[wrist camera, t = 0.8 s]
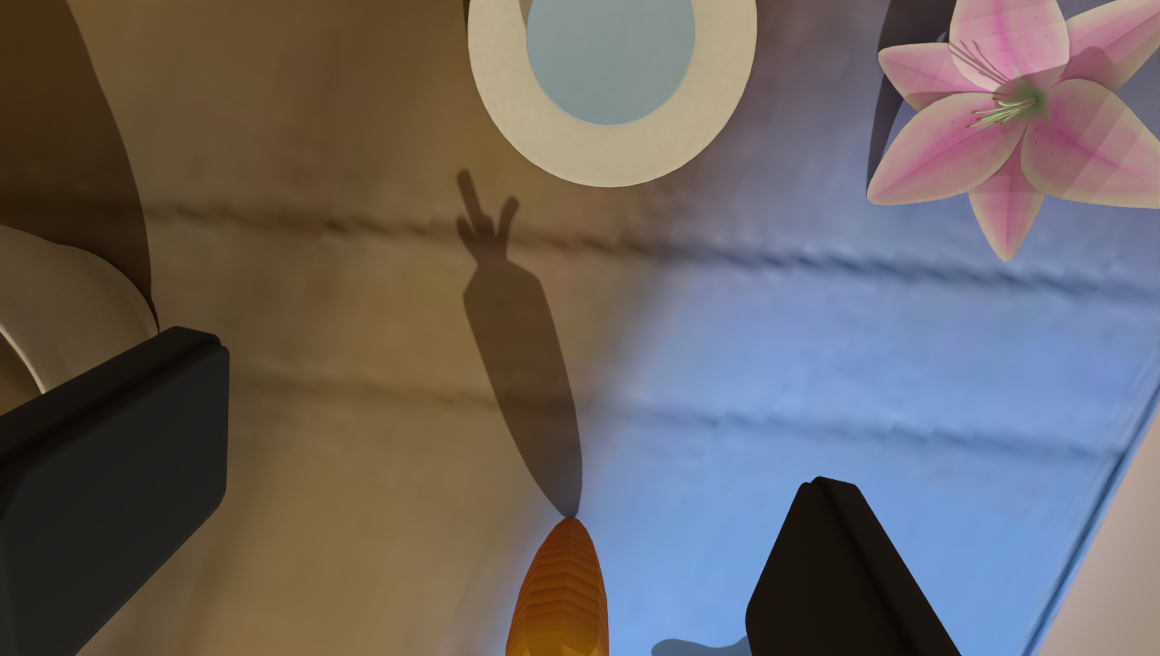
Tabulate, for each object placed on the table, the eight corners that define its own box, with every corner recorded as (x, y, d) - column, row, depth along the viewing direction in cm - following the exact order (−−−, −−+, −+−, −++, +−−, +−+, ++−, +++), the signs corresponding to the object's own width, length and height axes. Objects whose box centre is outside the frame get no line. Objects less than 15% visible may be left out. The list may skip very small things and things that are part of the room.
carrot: (536, 481, 38) (488, 710, 24) (616, 492, 38) (616, 728, 24) (528, 546, 39) (480, 794, 25) (605, 556, 39) (599, 811, 25)
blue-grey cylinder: (576, -87, 26) (574, -97, 24) (722, 2, 27) (728, -4, 25) (504, 76, 28) (498, 75, 27) (639, 152, 29) (641, 155, 28)
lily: (954, -99, 27) (934, -104, 20) (1272, -25, 23) (1381, -1, 16) (834, 157, 34) (789, 217, 27) (1060, 241, 31) (1074, 334, 24)
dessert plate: (549, -188, 26) (546, -201, 25) (809, -26, 27) (817, -31, 26) (430, 103, 30) (423, 104, 29) (659, 229, 32) (661, 234, 30)
